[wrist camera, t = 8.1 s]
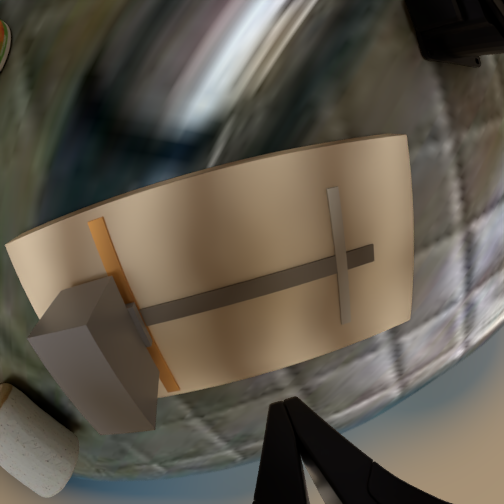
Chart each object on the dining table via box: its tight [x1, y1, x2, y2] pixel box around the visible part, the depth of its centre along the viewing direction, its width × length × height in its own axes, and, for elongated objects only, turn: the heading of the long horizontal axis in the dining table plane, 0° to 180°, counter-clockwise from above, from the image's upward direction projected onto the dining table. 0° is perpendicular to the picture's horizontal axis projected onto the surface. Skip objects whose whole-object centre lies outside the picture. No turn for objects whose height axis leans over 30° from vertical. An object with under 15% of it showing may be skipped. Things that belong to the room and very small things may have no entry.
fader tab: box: [27, 276, 160, 435], centre depth 12 cm, size 4×6×4 cm, turn 13°
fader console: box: [5, 134, 414, 398], centre depth 16 cm, size 22×12×2 cm, turn 103°
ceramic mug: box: [0, 383, 79, 497], centre depth 15 cm, size 11×8×8 cm
